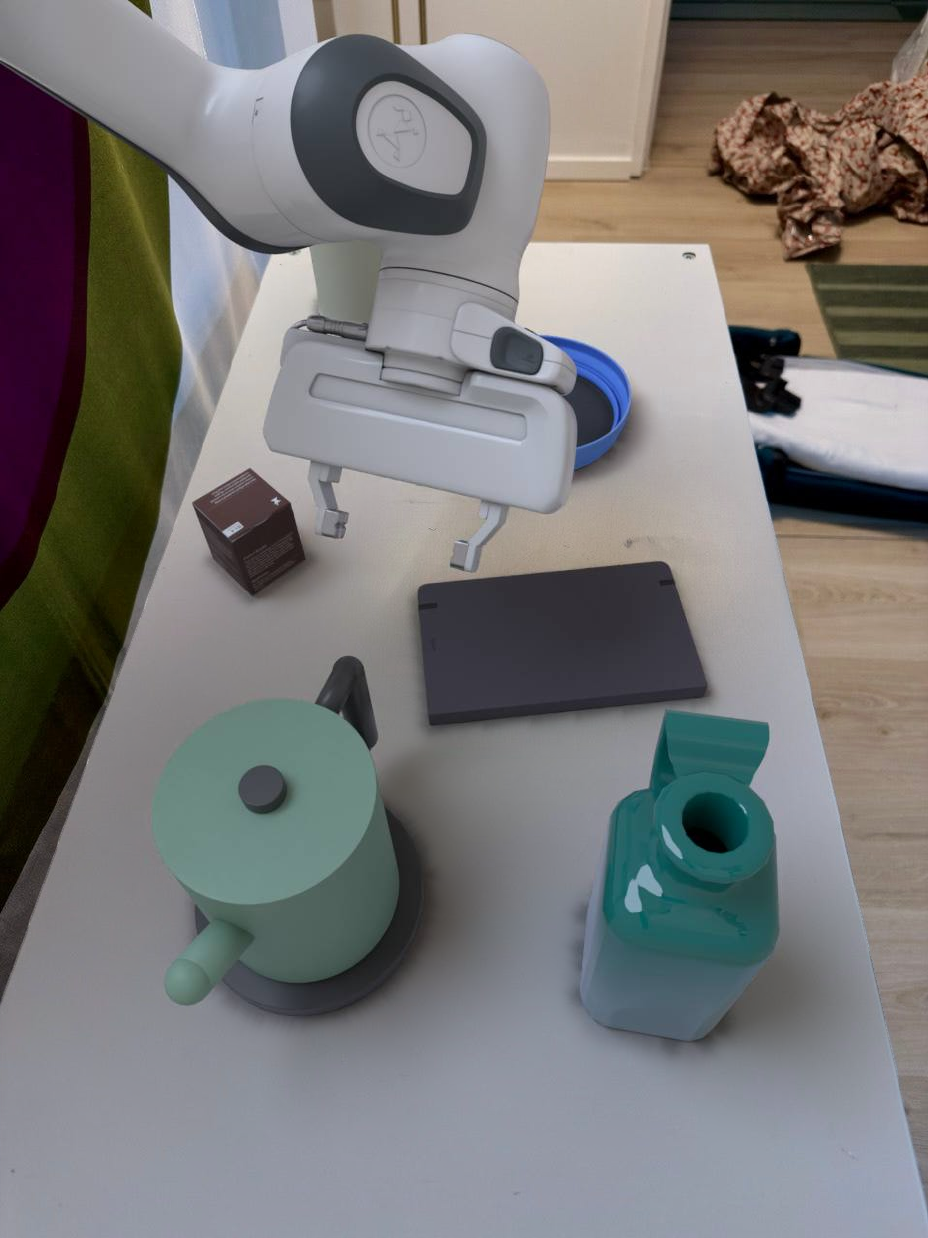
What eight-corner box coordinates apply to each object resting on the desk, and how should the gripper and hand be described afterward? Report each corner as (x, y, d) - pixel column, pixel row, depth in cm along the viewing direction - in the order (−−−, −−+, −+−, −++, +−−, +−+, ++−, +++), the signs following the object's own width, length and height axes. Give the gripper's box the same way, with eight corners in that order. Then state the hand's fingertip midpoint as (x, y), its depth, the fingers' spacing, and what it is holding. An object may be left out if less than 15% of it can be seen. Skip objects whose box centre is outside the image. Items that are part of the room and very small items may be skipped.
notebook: (429, 725, 68) (704, 696, 69) (427, 714, 67) (708, 685, 68) (417, 596, 76) (665, 571, 77) (416, 584, 75) (668, 559, 75)
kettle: (322, 1090, 52) (269, 1029, 40) (143, 1016, 55) (44, 938, 43) (452, 773, 64) (441, 652, 52) (300, 725, 67) (257, 600, 55)
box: (268, 525, 81) (251, 465, 75) (308, 561, 79) (293, 502, 73) (212, 560, 79) (189, 501, 73) (251, 599, 76) (230, 541, 70)
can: (406, 323, 99) (397, 219, 90) (324, 336, 98) (305, 232, 89) (392, 277, 105) (382, 175, 95) (314, 289, 104) (295, 186, 94)
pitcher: (716, 1048, 54) (821, 929, 37) (576, 1023, 55) (612, 896, 38) (717, 891, 60) (808, 723, 42) (590, 871, 61) (628, 699, 43)
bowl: (655, 461, 85) (661, 433, 82) (471, 499, 83) (470, 470, 80) (592, 349, 95) (595, 320, 93) (427, 379, 93) (425, 350, 90)
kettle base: (201, 1038, 55) (195, 1033, 54) (199, 816, 64) (194, 807, 63) (441, 989, 57) (440, 983, 55) (406, 778, 66) (404, 769, 64)
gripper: (266, 297, 55) (229, 517, 58) (589, 358, 51) (534, 594, 53) (310, 319, 61) (274, 517, 64) (601, 374, 57) (551, 586, 59)
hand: (395, 553), depth 58 cm, fingers open, 8 cm apart
